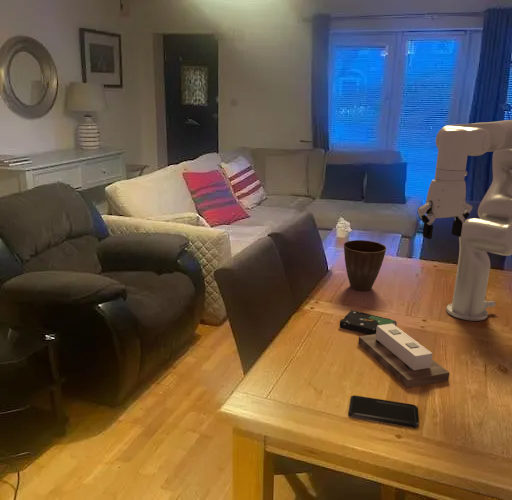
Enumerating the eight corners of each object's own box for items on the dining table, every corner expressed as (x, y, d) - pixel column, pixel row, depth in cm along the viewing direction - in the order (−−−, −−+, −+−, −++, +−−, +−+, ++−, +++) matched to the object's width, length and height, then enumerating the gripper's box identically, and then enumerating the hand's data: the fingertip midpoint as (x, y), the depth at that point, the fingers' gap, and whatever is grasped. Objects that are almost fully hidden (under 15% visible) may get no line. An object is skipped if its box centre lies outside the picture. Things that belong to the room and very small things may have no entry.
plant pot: (387, 285, 191) (392, 244, 187) (373, 298, 179) (377, 254, 175) (350, 277, 199) (353, 237, 194) (334, 289, 187) (337, 247, 182)
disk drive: (338, 329, 157) (387, 341, 150) (339, 321, 156) (387, 332, 149) (350, 317, 165) (396, 327, 158) (351, 309, 164) (397, 319, 157)
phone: (419, 425, 110) (348, 413, 113) (418, 430, 110) (347, 418, 114) (417, 405, 117) (351, 394, 121) (417, 409, 117) (350, 398, 121)
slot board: (358, 343, 147) (358, 336, 146) (394, 338, 150) (395, 331, 150) (407, 387, 125) (408, 379, 124) (448, 380, 129) (449, 372, 128)
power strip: (390, 344, 147) (392, 322, 145) (429, 376, 130) (432, 352, 128) (374, 346, 145) (376, 324, 143) (412, 379, 129) (415, 355, 127)
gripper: (466, 172, 145) (458, 231, 150) (414, 174, 140) (407, 235, 145) (485, 176, 138) (476, 238, 143) (431, 178, 133) (423, 242, 138)
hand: (441, 236), depth 144 cm, fingers open, 9 cm apart
